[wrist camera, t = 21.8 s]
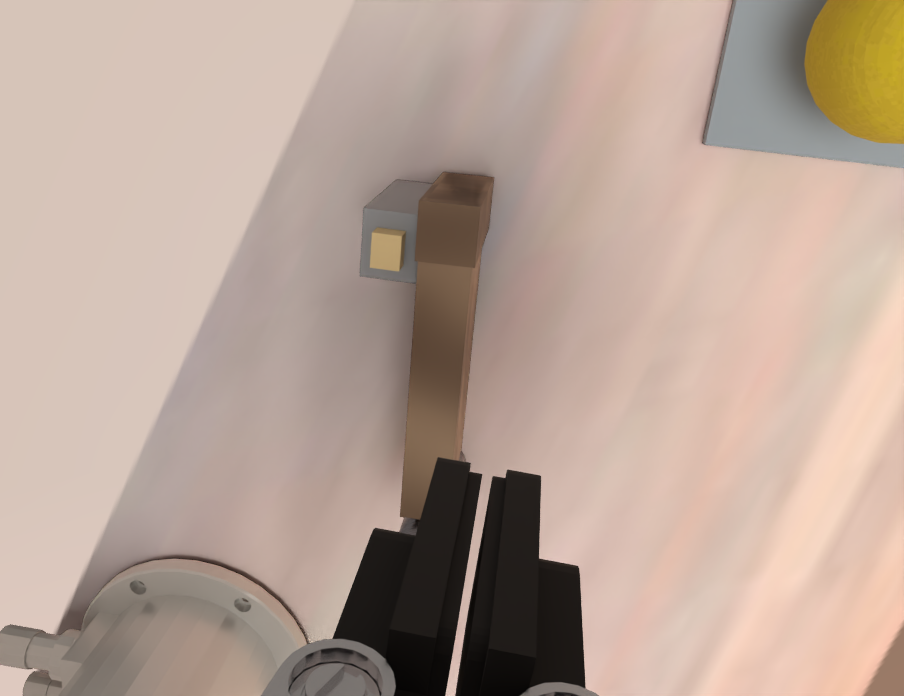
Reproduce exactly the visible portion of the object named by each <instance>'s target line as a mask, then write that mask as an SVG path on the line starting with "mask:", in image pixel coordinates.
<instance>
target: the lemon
mask: <svg viewBox="0 0 904 696" xmlns="http://www.w3.org/2000/svg"><path fill="white" fill-rule="evenodd" d="M804 65H805V72H806V79H807V86H808V88H809V90H810V92H811V95H812V97H813V99H814V101H815V104H816V105H817V106H818V107H819V109H820V110H821V111H822V112H823V113H824V114H825V116H826V117H827V118H828V119H829V120H830V121H831V122H832V123H834V124H835V125H837V126H838V127H840V128H841V129H843V130H844V131H846V132H847V133H849V134H851V135H853V136H856V137H859V138H863V139H866V140H869V141H873V142H877V143H891V144H904V0H827V2H826V4H825V5H824V7H823V8H822V10H821V12H820V13H819V15H818V16H817V18H816V19H815V21H814V24H813V27H812V30H811V32H810V35H809V38H808V41H807V45H806V54H805V62H804Z"/></svg>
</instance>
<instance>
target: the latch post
mask: <svg viewBox="0 0 904 696" xmlns="http://www.w3.org/2000/svg"><path fill="white" fill-rule="evenodd" d="M432 185H433V184H430V183H422V182H414V181H406V180H398V179H397V180H395V181H394V182H393V183H392V184H391V185H390V186H388V187H387V188H386V189H385V190H384V191H383V192H382V193H380V194H379V195H378V196H377V197H376V198H375V199H373V200H372V201H371V202H370V203H369V204H368V205H366V206H365V207H364V210H363V227H362V244H361V261H360V276H362V277H369V278H377V279H384V280H391V281H399V282H406V283H414V284H416V282H417V268H418V261H415V247H416V232H417V218H418V203H419V200H420V198H421V197H422V196H423V195H424V194H425V193H426V191H427V190H428V189H429V188H430V187H431V186H432Z"/></svg>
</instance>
